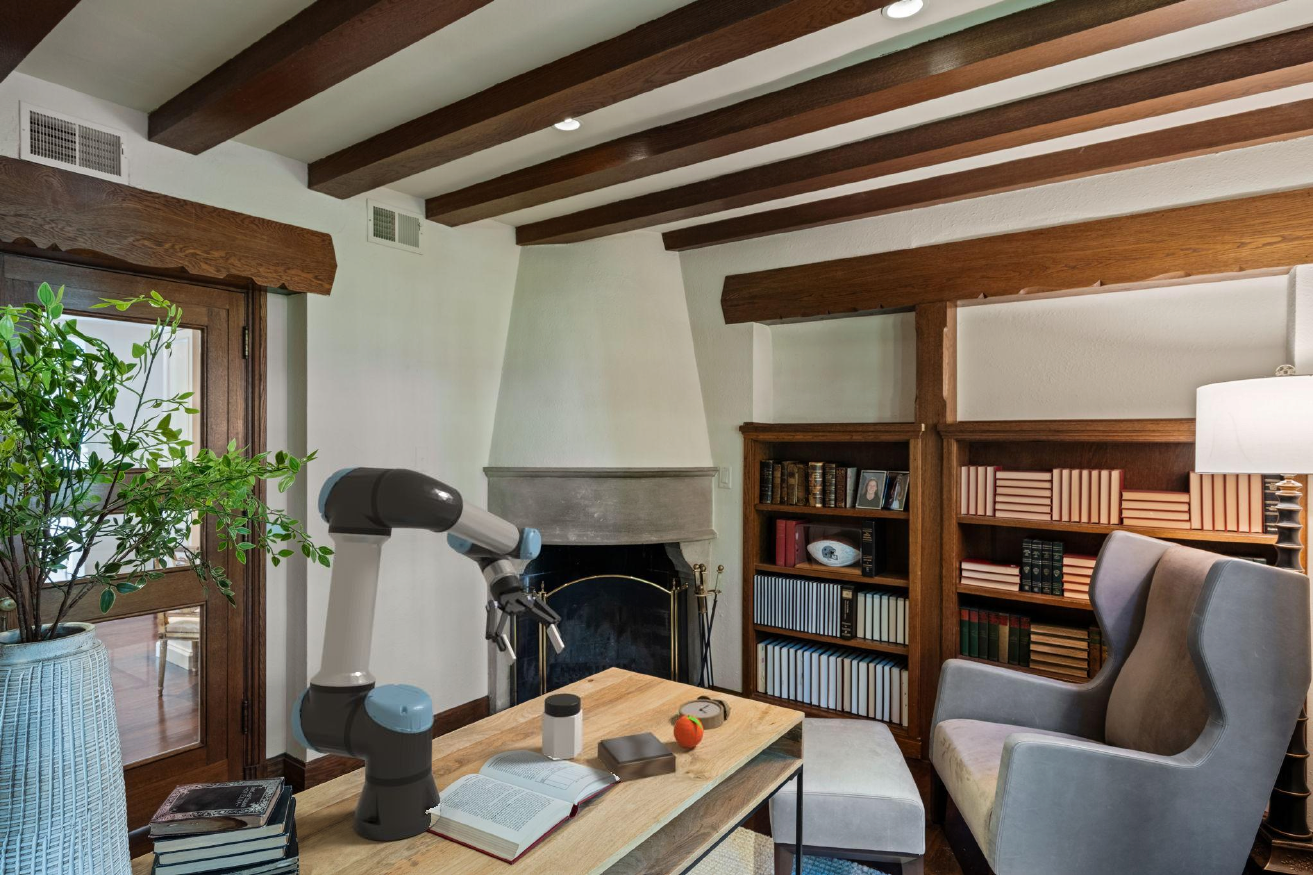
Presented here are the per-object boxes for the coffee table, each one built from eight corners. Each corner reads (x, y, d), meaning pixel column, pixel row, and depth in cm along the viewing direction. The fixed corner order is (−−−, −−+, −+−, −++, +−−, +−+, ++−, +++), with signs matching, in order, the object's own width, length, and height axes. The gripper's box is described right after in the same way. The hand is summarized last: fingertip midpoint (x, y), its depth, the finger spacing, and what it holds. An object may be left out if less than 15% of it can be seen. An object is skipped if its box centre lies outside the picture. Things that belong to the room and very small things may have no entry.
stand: (618, 782, 151) (618, 763, 151) (597, 757, 163) (597, 739, 163) (675, 772, 156) (675, 753, 156) (651, 748, 168) (651, 730, 168)
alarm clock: (668, 711, 184) (703, 686, 196) (670, 730, 185) (705, 703, 196) (705, 722, 177) (739, 695, 189) (707, 741, 178) (741, 713, 189)
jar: (579, 743, 171) (579, 691, 171) (584, 758, 163) (585, 703, 163) (540, 747, 169) (540, 694, 169) (543, 762, 161) (544, 707, 161)
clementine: (713, 748, 169) (713, 716, 169) (692, 756, 164) (692, 724, 164) (687, 737, 175) (687, 707, 175) (667, 746, 170) (667, 715, 170)
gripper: (539, 584, 196) (573, 653, 185) (452, 599, 178) (484, 676, 168) (550, 567, 192) (586, 636, 181) (463, 580, 175) (497, 658, 164)
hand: (537, 655), depth 174 cm, fingers open, 13 cm apart
